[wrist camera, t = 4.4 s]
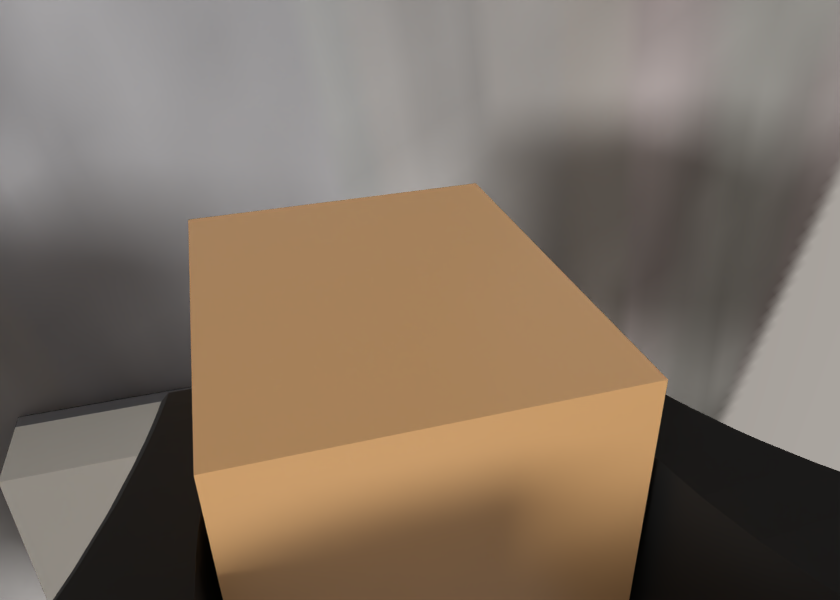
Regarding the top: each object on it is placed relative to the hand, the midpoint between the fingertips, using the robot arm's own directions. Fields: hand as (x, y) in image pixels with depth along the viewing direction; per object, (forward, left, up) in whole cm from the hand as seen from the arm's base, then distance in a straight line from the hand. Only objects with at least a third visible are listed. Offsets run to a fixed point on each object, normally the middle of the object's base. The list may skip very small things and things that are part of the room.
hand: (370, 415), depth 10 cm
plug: (0, 0, -2) cm, 2 cm away
